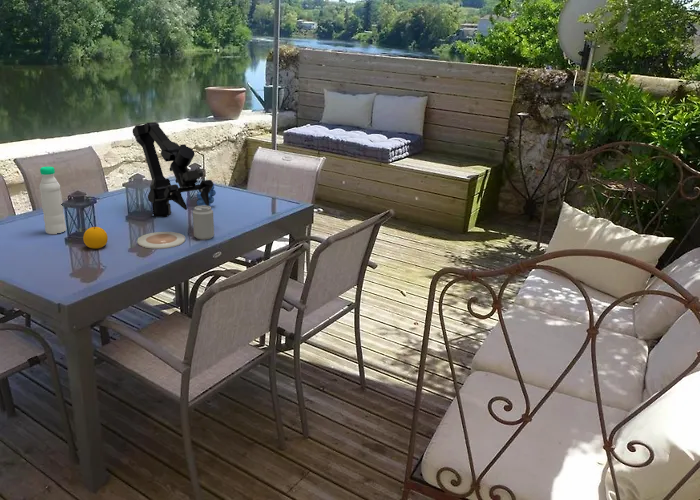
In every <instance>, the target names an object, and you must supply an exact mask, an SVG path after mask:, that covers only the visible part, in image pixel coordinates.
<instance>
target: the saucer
mask: <svg viewBox="0 0 700 500" xmlns="http://www.w3.org/2000/svg"><path fill="white" fill-rule="evenodd" d="M185 242H186V236H185V235H184V234H182V233H179V232H174V231H156V232H150V233H147V234H143V235H141V236H140V237H138V238H137V242H136V243H137V245H138V246H140V247H141V246H142V248H144V247H145V249H152V250H154V249H155V250H161V249H163V250H164V249H172V248H175V247H178V246H180V245H183V244H184V243H185ZM171 247H172V248H171Z"/></svg>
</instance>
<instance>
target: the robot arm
mask: <svg viewBox="0 0 700 500" xmlns="http://www.w3.org/2000/svg"><path fill="white" fill-rule="evenodd" d="M132 135H133V137H134V139H135V142H136V143H138V144H139V146H140V147H142V150H143V153H144V157H145V161H146V165H147V167H148V171H149V174H150V177H151V182H150V186H149V187H150V191H149V192H148V194H147V199H148V201H149V202H150V203H151V206H152V207H151V208H152V214H154V216H153V217H161V218H163V217H165V218H166V217H168V216H169V215H171V213H172V209H171V207H172V206H171V203H170V201H172V202H174V203H176V204H178V205H179V206H180V207H181V208H182V209H183V210H185V211H187V210H188V206H187V204H186V202H185V200H184V197H183V196H182V193H185V192H193V191H198V192H200V193H201V194H200V195H201V197H202V199H203V200H204V202H205V204H206V205H207V206H209V192H210V190H211V189H212V187H213V185H214V186H215V184H214V182H213V181H212V180H211V179H204V180H201V182H200V184H197V183H198V180H199V179H201V178H202V177H203V176H204V172H203V170H202V168H201V167H200V168H196V169H195V170H189V169H188V167H189V166H190V164H191V162H192V160H193V159H194V157H195V151H194V150H193V149H192V148H191V147H189V146H187V145H186V144H185V143H184V144H178V143H177V142H175V141H172V140H171V139H170V138H169V137H168V135H167V134H166V133H165V132H164V131H163V129H162V128H161V127H160V123H158V122H157V121H156V122H155V121H154V122H153V121H152V122H146V123H143V124H136V125H134V127H133V128H132ZM154 143H156V144H157V146H158V147H159V149H160V156H161V157H162V159H163V160H164V161H165V162H171V163H170V166H169V171H170V172H172V173H173V176H174V178H175V179H174V180H175V183H176V184H171V180H170V179H169V178H166V177H165V176H164V173H163V170H162V167H161V162H160V160H159V155H158V154H157V150H156V146H155V144H154Z"/></svg>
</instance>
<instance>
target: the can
mask: <svg viewBox="0 0 700 500" xmlns="http://www.w3.org/2000/svg"><path fill="white" fill-rule="evenodd" d="M193 208H194V210H193V211H192V221H193V222H192V224H193V236H194V238H196V239H197V240H201V241H204V240H205V241H206V240H210V239H212V238H213V237H214V236H215V226H214V225H215V224H214V223H215V222H214V210H213V209H212V207H211V205H210V206H205V205H202V206H198V205H197V206H195V207H193Z"/></svg>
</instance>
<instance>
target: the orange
mask: <svg viewBox="0 0 700 500" xmlns="http://www.w3.org/2000/svg"><path fill="white" fill-rule="evenodd" d="M82 238H83V243H84V245H85V246H86V247H88V248H90V249H95V250H97V249H102V248H103V247H104V246H105V245H107V243H108V238H109V236H108V233H107V232H106V230H104V229H103V228H102V227H99V226H91V227H89V228H88V229H86V230H85V232H84V233H83V237H82Z"/></svg>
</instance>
